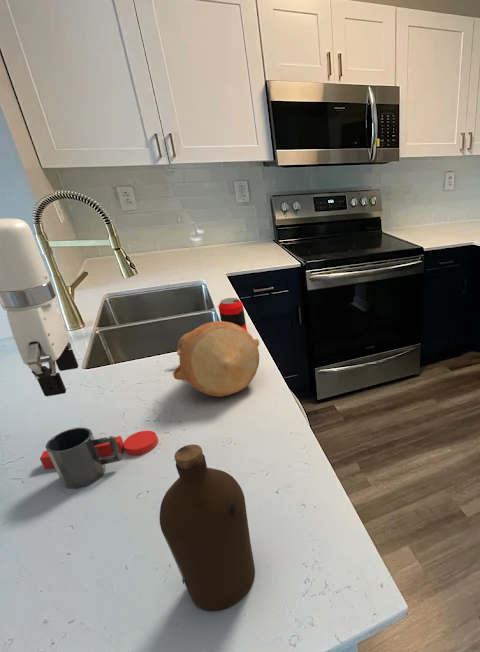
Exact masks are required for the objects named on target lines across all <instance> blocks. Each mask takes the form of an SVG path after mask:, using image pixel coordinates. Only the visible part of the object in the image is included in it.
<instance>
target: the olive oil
mask: <svg viewBox="0 0 480 652" xmlns="http://www.w3.org/2000/svg"><path fill="white" fill-rule="evenodd" d="M173 457H174V460H175V468H176V471H177V473H178V476H179V477H178V478H177V479H176V480H175V481H174V482H173V483H172V485H171V486H170V487H168V489H167V491H166V492H165V493H164V495H163V498H162V499H161V502H160V508H159V525H160V530H161V533H162V535H163V538H164V540H165V542H166V544H167V546H168V548H169V550H170V552H171V555H172V557H173V559H174V562H175V564H176V566H177V569H178V571H179V574H180V575H181V582H182V584H183V585H184V586H183V587H184V588H186V590H187V592H188V594H189V597H190V599H191V601H192V603H193V604H194V605H195V606H196V607H197V608H199V609H201V610H204V611H208V612H216V611H221V610H225V609H228V608H230V607H232V606H234V605H235V604H237V603H238V602H239V601H241V600H242V599H243V598H244V597H245V596H246V595H247V594H248V592H249V591H250V589H251V588H252V586H253V583H254V580H255V577H256V567H255V559H254V555H253V549H252V543H251V536H250V535H251V534H250V529H249V521H248V513H247V507H246V498H245V493H244V491H243V489H242V487H241V485H240V484H239V482H238V481H237V480H236V478H234V477H233V475H231V474H229V473H228V472H226V471H224V470H221V469H217V468H212V467H208V465H207V459H206V455H205V454H204V453H203V449H202V446H201V445H199V444H187V445H184V446H182V447H180V448H179V449H178V450H176V451H175V453H174V456H173Z"/></svg>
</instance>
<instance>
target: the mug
mask: <svg viewBox="0 0 480 652" xmlns="http://www.w3.org/2000/svg"><path fill="white" fill-rule="evenodd" d="M115 437H116V436H113V435H110V436H105V437H101V438H96V439H95V437H94V434H93V432H92V429H90V428H87V427H75V428H70V429H67V430H63V431H61V432H60V433H57V434H55V435H53V436H52V437H51V438H50V439H49V440H48V441H47V442H46V444H45V445H44V447H45V449H46V450H45V451H47V452H48V454H49V456H50V458H51V460H52V463H53V465H54V467H53V468H54V469H55V472H56V473H57V476H58V477H59V479H60V481H61V483H62V485H63V486H64V488H67V489H71V490H77V489H82V488H86V487H87V486H90V485H92V484H94V483H96V482H97V481H98V480H99V479H101V478H102V477H103V476H104V474H105V472H106V469H107V468H106V465H108V464H113V463H118V462H121V461H122V460H123V456H122V453H120V450H119V447H118V445H117V442H116V439H115ZM104 443H110V445H111V448H112V451H113V453H114V456H111V457H106V458H103V457H101V454H100V452H99V449H98V447H97V445H99V444H104Z"/></svg>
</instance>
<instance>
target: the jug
mask: <svg viewBox="0 0 480 652" xmlns="http://www.w3.org/2000/svg"><path fill="white" fill-rule="evenodd" d="M177 342H178V343H177V350H176V355H178V356H179V359H178V360H179V365H178V366H177V368H176V369H174V371H173V373H172V376H173V379H175V380H178V381H179V380H180V381H184V382H187V383H188V384H189V385H190V386H191V387H193V388H194V389H196V390H197V391H199V392H201V393H203V394H205V395H207V396H213V397H226V396H231V395H233V394H236V393H238V392H240V391H242V390H244V389H245V388H246V387H247V386H248V385H249V384H250V383H251V382H252V380H253V379H254V378H255V376H256V374H257V371H258V368H259V366H260V365H259V364H260V351H259V345H260V341H259V338H254V337H253V336H252V335H251V334H250V332H249V331H248V330H247V331H246V330H245V329H243V328H242V327H240V326H238V325H236V324H234V323H230V322H224V321H221V320H218V321H210V322H206V323H204V324H201V325H200V326H198V327H196V328H195V329H193V330H192V331H189V332H187V333H185V334H183V335H182V336H181V337H180V338H179V340H178V341H177Z"/></svg>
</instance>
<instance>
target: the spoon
mask: <svg viewBox="0 0 480 652" xmlns="http://www.w3.org/2000/svg"><path fill="white" fill-rule="evenodd" d="M114 437H115V439H116V442H117V445H118V447H119V450H120V453H121V454H122V453H124V451H125V453H126V454H127V455H129V456H139V455H144V454H146V453H149V452H150V451H152V450H153V449H155V448H156V446H157V445H158V443H159V439H158V436H157V433H156V432H155V431H153V430H140V431H136V432H134V433H132V434H130V435H129V436H128V437H126V438H125V440H123V438H122V436H121V435H118V436H114ZM97 447H98V449H99V452H100V454H101V457H102V458H104V457H109V456H112V455H114V453H113V451H112V448H111V445H110V443H104V444H99V445H97ZM39 460H40V462H41V464H42V466H43V468H44V470H48V469H52V468H55V467H54V465H53V463H52V460H51V458H50V456H49V454H48V452H47V450H44V451H43V452H42V453H41V456H40V458H39Z"/></svg>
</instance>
